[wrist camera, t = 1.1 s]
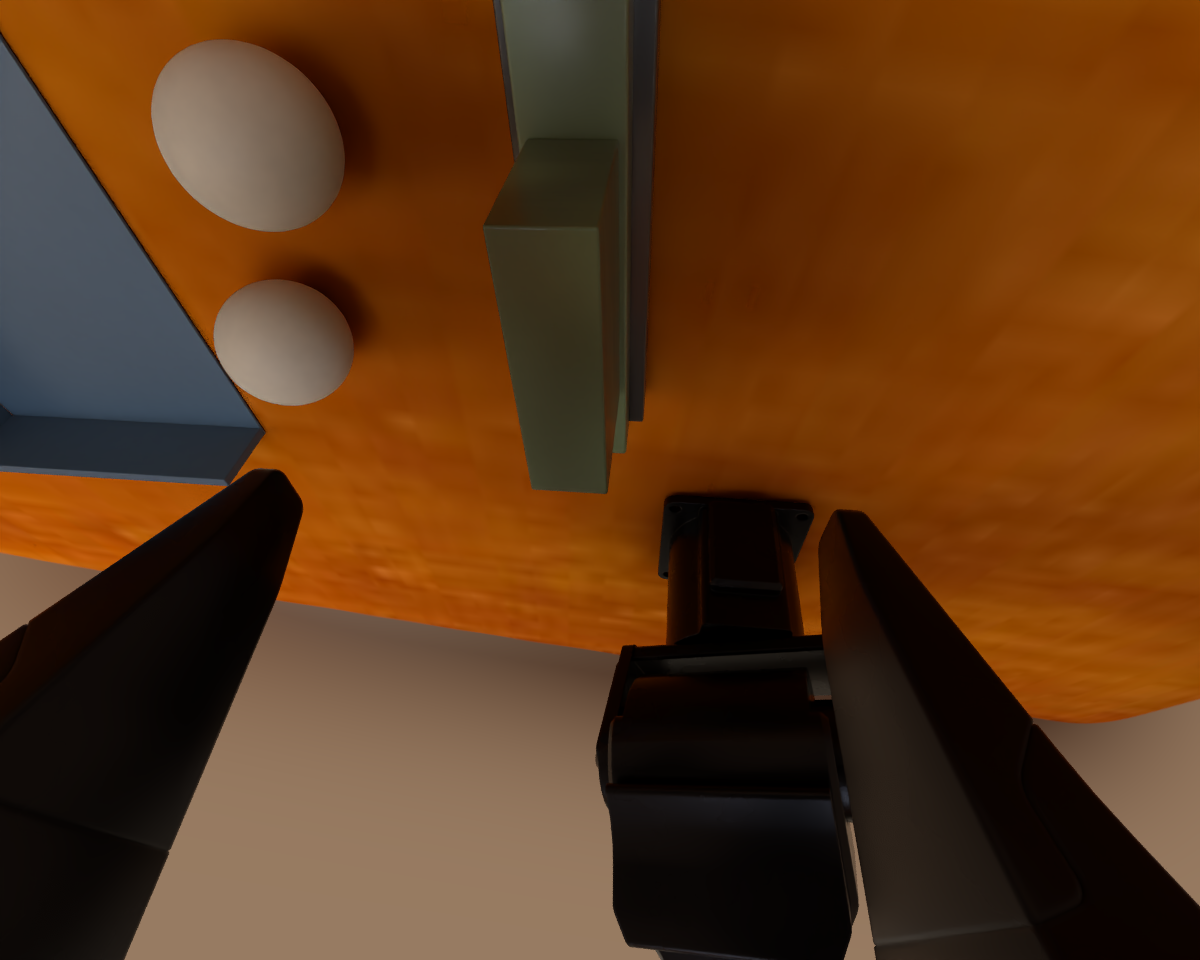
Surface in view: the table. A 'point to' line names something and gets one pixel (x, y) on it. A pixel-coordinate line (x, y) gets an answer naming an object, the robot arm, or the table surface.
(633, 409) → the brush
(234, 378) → the crumb
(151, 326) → the dustpan
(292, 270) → the table surface
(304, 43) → the table surface
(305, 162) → the crumb
